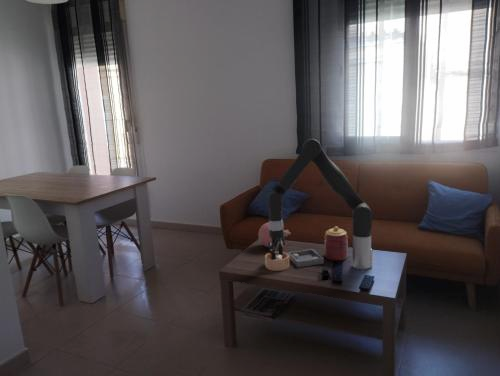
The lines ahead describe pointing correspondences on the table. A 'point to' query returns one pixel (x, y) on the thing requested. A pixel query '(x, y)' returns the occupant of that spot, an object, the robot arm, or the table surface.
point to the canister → (336, 244)
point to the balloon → (267, 234)
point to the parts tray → (306, 258)
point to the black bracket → (324, 275)
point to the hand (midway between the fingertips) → (277, 257)
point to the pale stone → (278, 256)
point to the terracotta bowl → (277, 262)
